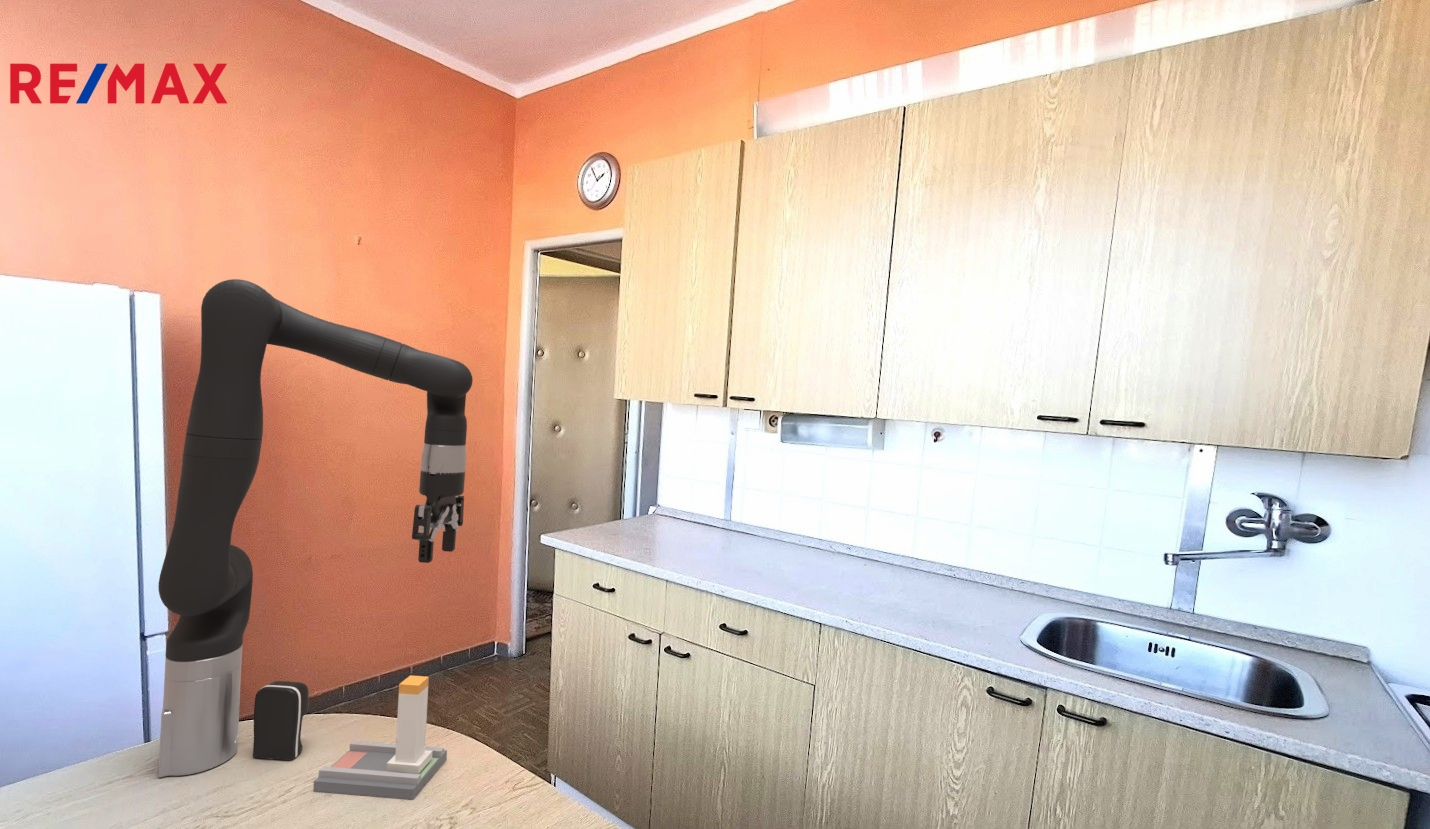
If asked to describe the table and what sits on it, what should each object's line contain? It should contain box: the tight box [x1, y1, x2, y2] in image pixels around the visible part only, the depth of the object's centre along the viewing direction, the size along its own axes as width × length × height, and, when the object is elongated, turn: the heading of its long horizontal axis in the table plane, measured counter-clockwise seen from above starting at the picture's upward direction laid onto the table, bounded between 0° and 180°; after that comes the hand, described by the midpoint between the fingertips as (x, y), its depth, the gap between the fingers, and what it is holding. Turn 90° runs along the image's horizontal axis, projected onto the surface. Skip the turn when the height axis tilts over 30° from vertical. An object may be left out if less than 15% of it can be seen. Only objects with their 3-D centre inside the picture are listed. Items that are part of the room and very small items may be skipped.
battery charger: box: [252, 680, 310, 761], centre depth 96 cm, size 7×4×11 cm, turn 89°
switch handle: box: [386, 675, 433, 774], centre depth 92 cm, size 5×4×13 cm
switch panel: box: [312, 740, 448, 800], centre depth 92 cm, size 15×10×2 cm, turn 88°
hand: (437, 556), depth 109 cm, fingers open, 8 cm apart
